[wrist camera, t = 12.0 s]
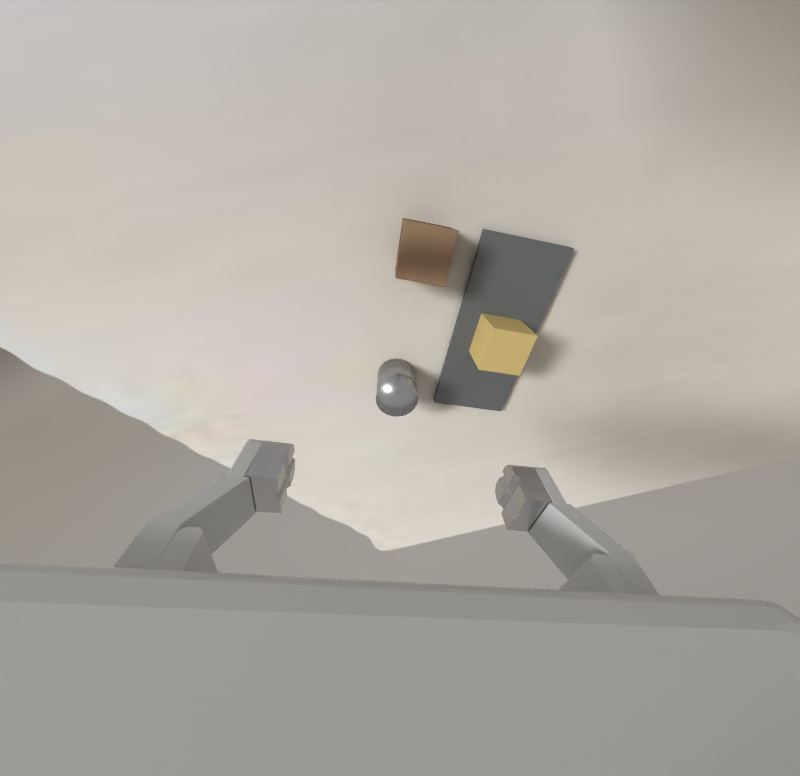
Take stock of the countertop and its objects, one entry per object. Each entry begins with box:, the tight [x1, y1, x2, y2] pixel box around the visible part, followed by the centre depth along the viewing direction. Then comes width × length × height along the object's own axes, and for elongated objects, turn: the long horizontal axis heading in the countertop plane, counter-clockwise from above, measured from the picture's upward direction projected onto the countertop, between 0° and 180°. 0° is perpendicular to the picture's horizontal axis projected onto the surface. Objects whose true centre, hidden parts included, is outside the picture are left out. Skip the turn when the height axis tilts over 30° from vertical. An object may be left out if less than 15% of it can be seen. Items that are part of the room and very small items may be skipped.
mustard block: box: [469, 313, 538, 376], centre depth 34 cm, size 5×5×5 cm
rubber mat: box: [434, 229, 574, 411], centre depth 37 cm, size 22×10×1 cm, turn 170°
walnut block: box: [395, 218, 459, 287], centre depth 30 cm, size 5×5×5 cm
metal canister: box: [376, 359, 418, 416], centre depth 38 cm, size 5×5×6 cm
